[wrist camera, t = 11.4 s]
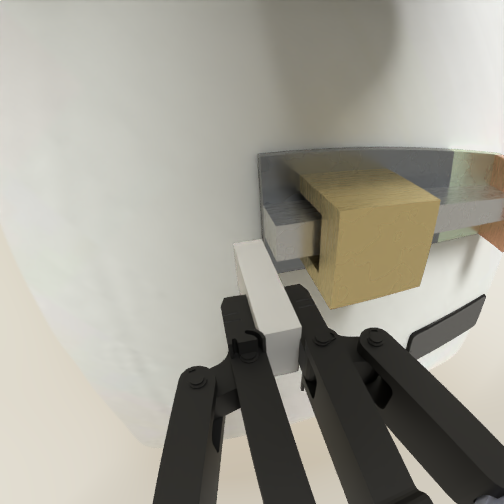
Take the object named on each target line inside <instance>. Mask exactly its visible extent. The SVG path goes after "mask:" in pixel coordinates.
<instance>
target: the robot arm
mask: <svg viewBox="0 0 504 504" xmlns="http://www.w3.org/2000/svg"><path fill="white" fill-rule="evenodd" d="M233 246H234V255H235V264H236V273H237V282H238V287H239V291H240V295H239V296H233V297H227V298H224V299H223V302H222V305H221V310H222V316H223V322H224V327H225V333H226V338H227V343H228V349H229V352H228V355H227V357H226V358H225V360H224V361H223V362H221V363H220V364H218V365H216V366H214V367H212V368H210V369H209V368H207V367H203V366H194V367H191V368H188V369H186V370H185V371H184V372H183V373H182V374H181V376H180V378H179V381H178V385H177V390H176V394H175V398H174V403H173V407H172V412H171V416H170V420H169V425H168V430H167V434H166V439H165V444H164V448H163V453H162V458H161V463H160V468H159V473H158V478H157V483H156V489H155V494H154V499H153V504H216V500H217V491H218V481H219V471H220V462H221V452H222V443H223V433H224V424H225V415H227V414H229V413H231V412H233V411H235V410H237V409H239V408H241V412H242V417H243V421H244V426H245V430H246V434H247V439H248V443H249V447H250V451H251V456H252V460H253V464H254V468H255V472H256V476H257V480H258V484H259V488H260V492H261V496H262V500H263V504H316V503H315V500H314V497H313V494H312V491H311V488H310V485H309V482H308V479H307V476H306V473H305V470H304V467H303V464H302V461H301V458H300V455H299V452H298V449H297V446H296V443H295V440H294V437H293V434H292V431H291V428H290V424H289V421H288V418H287V415H286V412H285V409H284V406H283V403H282V400H281V397H280V393H279V390H278V387H277V384H276V381H275V378H274V376H278V375H283V374H287V373H292V372H296V371H298V369H299V365H300V368H301V370H302V380H301V391H304V387H305V390H306V392H307V395H308V398H309V400H310V403H311V406H312V408H313V411H314V414H315V416H316V419H317V421H318V424H319V427H320V429H321V432H322V435H323V437H324V440H325V443H326V445H327V448H328V451H329V453H330V456H331V458H332V461H333V464H334V466H335V469H336V472H337V474H338V477H339V479H340V482H341V485H342V487H343V490H344V493H345V495H346V498H347V501H348V503H349V504H433V502H432V500H431V499H430V497H429V496H428V495H427V494H426V493H424V492H421V491H419V490H418V489H417V488H416V486H415V485H414V483H413V480H412V478H411V476H410V474H409V472H408V470H407V468H406V466H405V464H404V462H403V460H402V457H401V455H400V453H399V451H398V449H397V447H396V445H395V443H394V441H393V439H392V437H391V435H390V433H389V431H388V429H387V427H388V428H389V429H390V430H391V431H392V432H393V434H394V435H395V436H396V437H397V438H398V439H399V440H400V441H401V443H402V444H403V445H404V446H405V447H406V448H407V450H409V452H410V453H411V454H412V455H413V456H414V458H415V459H416V460H417V461H418V462H419V463H420V464H421V465H422V466H423V468H424V469H425V470H426V471H427V472H428V473H429V474H430V476H431V477H432V478H433V479H434V480H435V481H436V482H437V483H438V484H439V486H440V487H441V488H442V489H443V490H444V491H445V492H446V493H447V495H448V496H449V497H450V498H452V500H453V501H454V502H456V503H457V504H504V446H503V445H502V444H501V443H500V442H499V441H498V440H497V439H496V438H495V437H494V436H493V435H492V434H491V433H490V432H489V431H488V430H487V429H486V427H484V426H483V424H481V422H480V421H478V420H477V418H476V417H475V416H474V415H473V414H472V413H471V412H470V411H469V410H468V409H467V408H466V407H464V405H462V403H461V402H459V401H458V400H457V398H455V397H454V396H453V395H452V394H451V393H450V392H449V391H448V390H447V389H446V388H445V387H444V386H443V385H442V384H441V383H440V382H439V381H438V380H437V379H436V378H435V377H434V376H433V375H432V374H431V373H430V372H429V371H428V370H427V369H426V368H425V367H423V366H422V365H421V364H420V363H419V362H418V361H417V360H416V359H415V358H414V357H413V356H412V355H411V354H410V353H409V352H408V351H407V350H406V349H404V348H403V347H402V346H401V345H400V344H399V343H398V342H397V341H396V340H395V339H394V338H393V337H392V336H391V335H389V334H388V333H387V332H386V331H384V330H383V329H379V328H368V329H365V330H364V331H363V332H362V333H361V335H360V337H346V336H340V335H338V334H337V333H336V332H335V331H333V330H331V329H329V328H328V327H327V325H326V323H325V321H324V320H323V318H322V316H321V314H320V312H319V310H318V308H317V307H316V305H315V303H314V301H313V299H312V297H311V295H310V294H309V292H308V290H307V289H306V288H304V287H303V286H302V285H300V284H297V285H291V286H286V287H283V284H282V282H281V280H280V278H279V276H278V274H277V271H276V269H275V267H274V265H273V263H272V261H271V258H270V256H269V254H268V252H267V250H266V248H265V245H264V243H263V241H262V239H257V240H251V241H244V242H238V243H233ZM385 424H386V425H385ZM386 426H387V427H386Z"/></svg>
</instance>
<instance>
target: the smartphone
mask: <svg viewBox="0 0 504 504" xmlns="http://www.w3.org/2000/svg"><path fill="white" fill-rule="evenodd" d="M485 298H486V296H485V294H483V295H481V296H480V297H478V298H476V299H475V300H473V301H471V302H470V303H468V304H466V305H464V306H463V307H461V308H459V309H457V310H456V311H454V312H452V313H450V314H448V315H447V316H445V317H443V318H441V319H439V320H437V321H435V322H433V323H431V324H429V325H427V326H425V327H423V328H421V329H419V330H417V331H415V332H413V333H412V334H411V335H410V337H409V341H408V345H407V349H406V350H407V351H408V352H409V353H410V354H411V355H412V356H413V357H414V358H415V359H416V360H417V359H419V358H420V357H422V356H424V355H426V354H428V353H430V352H431V351H433V350H435V349H437V348H439V347H440V346H442V345H444V344H445V343H447V342H449V341H451V340H452V339H454V338H455V337H457V336H459V335H460V334H462V333H464V332H465V331H467V330H468V329H470V328H471V327H473V326H474V325H475V324H476V321H477V319H478V317H479V314H480V312H481V309H482V306H483V304H484V301H485Z"/></svg>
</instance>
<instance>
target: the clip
mask: <svg viewBox="0 0 504 504" xmlns="http://www.w3.org/2000/svg"><path fill="white" fill-rule="evenodd" d="M300 193H301V194H302V195H303V196H304V197H305V198H306V199H307V200H308V201H309V202H310V203H311V204H312V205H313V206H314V207H315V208H316V209H317V210H318V211H319V213H320V214H321V215H322V223H321V243H320V254H319V255H313V256H307V257H301V258H300V260H301V261H302V263H303V265H304V266H305V268H306V270H307V271H308V273H309V275H310V276H311V278H312V280H313V281H314V283H315V285H316V286H317V288H318V290H319V291H320V293H321V295H322V297H323V298H324V300H325V302H326V303H327V305H328V307H329V308H330V310H331V309H335V308H339V307H344V306H348V305H352V304H356V303H360V302H364V301H368V300H371V299H375V298H379V297H383V296H386V295H390V294H394V293H397V292H401V291H405V290H408V289H411V288H415V287H418V286H420V283H421V280H422V276H423V273H424V269H425V266H426V262H427V259H428V255H429V251H430V247H431V243H432V239H433V235H434V230H435V226H436V221H437V216H438V211H439V206H440V201H441V200H440V199H438V198H437V197H435V196H434V195H432V194H430V193H429V192H427V191H426V190H424V189H422V188H421V187H419V186H417V185H415V184H414V183H412V182H410V181H409V180H407V179H405V178H403V177H402V176H400V175H398V174H396V173H394V172H393V171H391V170H389V169H370V170H353V171H339V172H326V173H314V174H303V175H300Z"/></svg>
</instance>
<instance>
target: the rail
mask: <svg viewBox="0 0 504 504" xmlns="http://www.w3.org/2000/svg"><path fill="white" fill-rule="evenodd" d="M258 168H259V185H260V202H261V220H262V238H263V243H264V245H265V248H266V250H267V252H268V254H269V256H270V258H271V261H272V263H273V265H274V267H275V269H276V271H277V273H283V272H288V271H294V270H299V269H305V266H304V265H303V263H302V261H301V260H300V258H301V257H307V256H313V255H319V254H320V243H321V223H322V215H321V214H320V213H319V211H318V210H317V209H316V208H315V207H314V206H313V205H312V204H311V203H310V202H309V201H308V200H307V199H306V198H305V197H304V196H303V195H302V194H301V193H300V175H303V174H314V173H326V172H339V171H353V170H370V169H389V170H391V171H393V172H394V173H396V174H398V175H400V176H402V177H403V178H405V179H407V180H409V181H410V182H412V183H414V184H415V185H417V186H419V187H421V188H422V189H424V190H426V191H427V192H429V193H430V194H432V195H434V196H435V197H437V198H438V199H440V200H441V201H440V206H439V211H438V216H437V221H436V226H435V230H434V235H433V239H432V243H437V242H442V241H446V240H451V239H455V238H460V237H465V236H469V235H474V234H480V235H481V236H482V237H484V238H485V239H486V240H487V241H489V242H490V243H491V244H493V245H494V246H495V247H496V248H498V249H499V250H500V251H501V252H504V155H502V154H500V153H494V152H484V151H472V150H459V149H442V148H416V147H356V148H329V149H311V150H296V151H283V152H272V153H261V154H258ZM432 243H431V244H432Z"/></svg>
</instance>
